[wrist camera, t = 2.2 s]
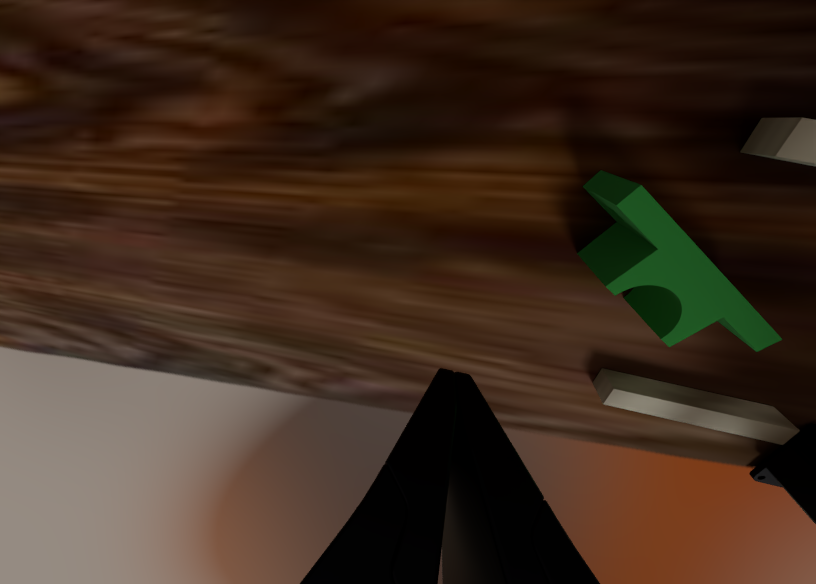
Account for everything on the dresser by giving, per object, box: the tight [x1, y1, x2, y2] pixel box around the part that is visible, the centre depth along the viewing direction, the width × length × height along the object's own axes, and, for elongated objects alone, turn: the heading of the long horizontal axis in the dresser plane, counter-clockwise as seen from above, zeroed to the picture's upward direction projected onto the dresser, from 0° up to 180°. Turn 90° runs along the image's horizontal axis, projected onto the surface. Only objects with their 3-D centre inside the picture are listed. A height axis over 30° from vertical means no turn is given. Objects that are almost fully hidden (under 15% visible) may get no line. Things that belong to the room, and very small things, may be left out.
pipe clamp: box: [577, 170, 783, 352], centre depth 17 cm, size 11×4×5 cm, turn 51°
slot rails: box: [593, 118, 816, 445], centre depth 18 cm, size 12×18×2 cm
